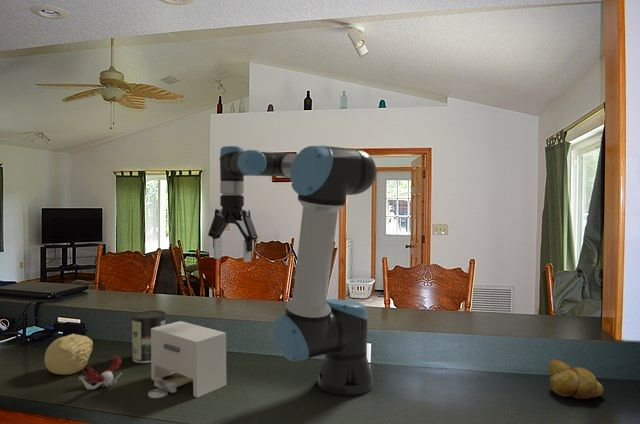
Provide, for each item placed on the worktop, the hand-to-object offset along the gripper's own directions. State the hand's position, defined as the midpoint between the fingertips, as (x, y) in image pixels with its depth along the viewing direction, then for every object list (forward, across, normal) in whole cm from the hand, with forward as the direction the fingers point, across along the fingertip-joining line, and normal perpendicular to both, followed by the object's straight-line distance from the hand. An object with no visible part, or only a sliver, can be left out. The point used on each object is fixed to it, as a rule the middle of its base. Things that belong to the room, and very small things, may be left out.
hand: (232, 260), depth 153 cm
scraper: (+31, -6, +22) cm, 39 cm away
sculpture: (+31, +28, +39) cm, 57 cm away
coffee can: (+31, +19, +18) cm, 41 cm away
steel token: (+31, -7, +33) cm, 46 cm away
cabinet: (+31, -7, +24) cm, 39 cm away
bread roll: (+31, -96, -31) cm, 106 cm away
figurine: (+31, +10, +39) cm, 51 cm away
